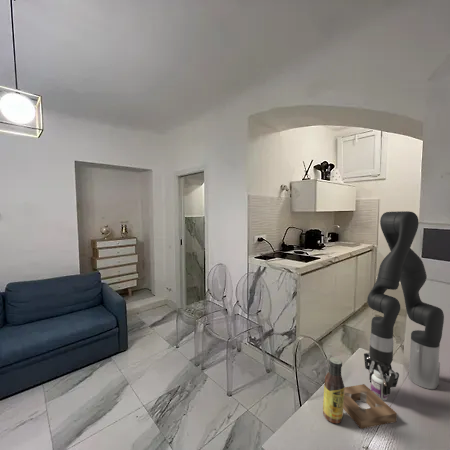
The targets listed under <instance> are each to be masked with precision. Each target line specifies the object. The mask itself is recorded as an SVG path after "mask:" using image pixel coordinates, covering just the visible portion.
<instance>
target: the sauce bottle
mask: <svg viewBox="0 0 450 450" xmlns="http://www.w3.org/2000/svg"><path fill="white" fill-rule="evenodd" d="M328 360H329V361H328V363H329V370H328V372H327V373H326V375H325V376H324V385H323V401H322V402H323V404H322V414H323V416H324V418H325V419H326V420H327V421H328V422H330V423H333V424H340V423H341V422H342V419H343V417H344V409H343V403H344V387H345V384H344V381H343V377H342V367H343V361H342V360H341V359H340V358H338V357H333V356H331V357H330V358H329V359H328Z"/></svg>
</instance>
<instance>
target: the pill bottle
mask: <svg viewBox="0 0 450 450" xmlns="http://www.w3.org/2000/svg"><path fill="white" fill-rule="evenodd" d="M385 375H387V374H384V376H385ZM386 381H387V379H386ZM387 382H388V381H387ZM383 384H384V383H383V379H382V378H381V376H380V373H379V372H378V371H377V370H375V369H374V374H372V377H371V383H370V390H371V391H373V392H374V393H375V394H376V395H377V396H378V397H379V398H380V399H381V400H383V401H387V399H388V395H384V394H383Z"/></svg>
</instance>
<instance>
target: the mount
mask: <svg viewBox="0 0 450 450" xmlns="http://www.w3.org/2000/svg"><path fill="white" fill-rule="evenodd" d="M359 401H360V402H363V403H366V404H367V405H368V406H369V407H370V408H364V407H362V406H360V405H358V403H357V402H359ZM343 411H345V413H346V414H347V415H348V416H349V417H350V418H351V419H352V421H353V422H354V423H355V424H356V425H357V426H358V427H359V428H360V430H365V429H369V428H373V427H378V426H382V425H388V424H392V423H397V419H398V418H397V416H398V415H397V414H398V413H397V411H395V410H394V409H393V408H392V407H391V406H389V404H387V403H386V401H385V400H381V399H380V398H379V397H378V396H377V395H376V394H375V393H374V392H373V391H371V388H369V387H368V386H367V385H366V384H365V383H362V384H356V385H350V386H344V403H343Z"/></svg>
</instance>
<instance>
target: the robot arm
mask: <svg viewBox="0 0 450 450" xmlns="http://www.w3.org/2000/svg"><path fill="white" fill-rule="evenodd" d="M379 220H380V221H379V224H380V225H379V226H380V228H381V232H382V234H383V237H384V239H385V241H386V244H387V245H388V248H389V251H390V252H389V253H388V254H387V255H386V256H385V257H383V259H382V261H381V263H380V265H379V269H378V274H377V277H376V281H375V283H374V284H373V286H372V288H371V289H370V291H369V293H368V295H367V299H366V301H367V305H368V307H369V308H370V309H371V310H373V311H376V312H379V313H381V314H383V316H373V317H372V319H371V326H370V337H369V352H365V353H363V359H364V367H365V369H366V370H368V373H369V379H368V380H369V383H370V384H371V377H372V374H374V369H375V370H377V371H378V372H379V373H380V376H381V378H382V379H383V383H384V384H383V394H384V395H387V396H389V395H390V394H391V389H392V388H396V387H397V386H398V385H397V384H398V381H399V378H400V374H399V372H398V371H397V372H395V371H394V370H393V367H392V362H393V359H394V327H395V323H396V320H397V318H398V315H399V314H400V312H401V303H400V302H399V300H398V298H396V297H394V296H391V295H388V294H386V293H385V292H387V290H393V291H396V290H398V288H399V286H401V289H402V293H403V299H404V304H405V310H406V313H407V317H408V319H410V321H412V322H414V323H416V324H418V325H421V326H423V327H424V330H420V329H418V330H417V329H415V330H412V331H411V333H410V344H409V345H410V349H409V365H408V366H409V368H408V378H409V380H410V381H411V382H412V383H414V384H416V386H419V387H421V388H424V389H428V390H436V389H437V388H438V386H439V385H440V371H441V369H440V368H441V362H440V345H441V344H440V343H441V340H442V337H443V328H444V322H445V321H444V320H445V314H444V311H443V310H442V308H440V307H439V306H435V305H432V304H429V303H426V302H424V301H422V299H421V298H420V290H421V289H422V288H423V286H424V285H425V284H426V282H427V272H426V268H425V265H424V262H423V260H422V259H421V257H420V256H419V254H417V253H416V252H415V251H414V250H413V249H412V248H411V247H412V245H413V242H414V240H415V237H416V234H417V232H418V228H419V223H420V222H419V217H418V215H417V214H416V213H415V212H414V211H410V210H409V211H408V210H407V211H404V210H402V211H386V212H384V213H383V214H381V216H380V219H379ZM384 374H386V375H385V376H384ZM386 379H387V381H388V382H387V381H386Z"/></svg>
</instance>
